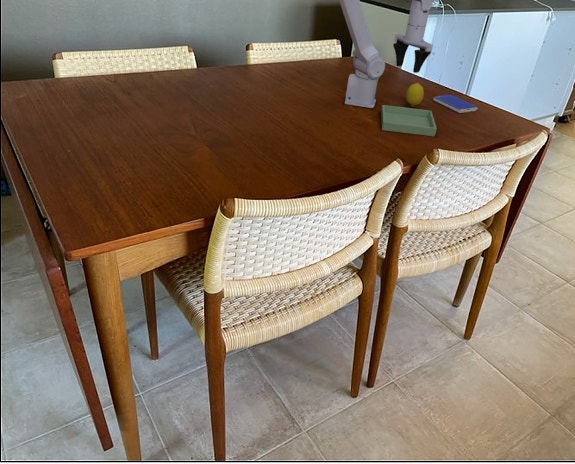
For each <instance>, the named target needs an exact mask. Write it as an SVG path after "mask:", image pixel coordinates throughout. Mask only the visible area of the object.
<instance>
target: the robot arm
mask: <svg viewBox="0 0 575 464" xmlns="http://www.w3.org/2000/svg"><path fill="white" fill-rule="evenodd" d="M338 1H339V4H340V7H341V10H342V14H343V16H344V19H345V22H346V26H347V28H348V31H349V34H350V38H351V41H352V44H353V48H354V50H353V51H352V56H353V63H352V64H353V68H354V69H355V73H350V74H349V76H348V80H347V84H346V91H345V99H344V105H348V106H355V107H356V106H357V107H361V108H366V109H367V108H368V109H374V108H375V106H376V101H377V100H376V93H377V88H378V81H379V79H380V77H381V76H382V75H383V74H384V72H385V69H386V63H385V60H384V59H383V58H382V57H381V56H380V53H379V51H378V50H377V49H376V47H375V46H374V44H373V41H372V38H371V35H370V31H369V28H368V23H367V20H366V18H365V17H366V16H365V14H364V11H363V8H362V3H361V1H360V0H338ZM435 1H436V0H411V3H410V8H409V14H408V18H407V19H408V20H407V24H406V29H405V35H403V34H394V39H393V41H394V43H393V45H392V46H393V50H394V53H395V62H396V64H395V65H396V67H403V64H404V62H405V57H406V54H407V51H408V48H409V47H414V48H416V49H414V51H413V52H414V64H413V69H412V71H413V73H414V74H417V73H420V71H421V69H422V67H423V65H424V63H425V61H426V60H427V59H428V57H429V56H430V55H431V54H432V51H433V47H434V44H432V43H430V42H428V41H426V40H425V38H424V37H425V32H426V28H427V24H428V19H429V14H430V11H431V9H432V6H433V3H434V2H435Z"/></svg>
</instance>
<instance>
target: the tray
mask: <svg viewBox="0 0 575 464" xmlns="http://www.w3.org/2000/svg"><path fill="white" fill-rule="evenodd" d="M380 119H381V120H380V121H381V130H382V131H387V132H394V133H395V132H396V133H403V134H409V135H410V134H411V135H418V136H419V135H420V136H427V137H428V136H429V137H436V133H437V129H438V128H437V124H436V122H435V118H434V115H433V112H432V110H430V109H429V110H428V109H422V108H414V107H405V106H404V107H403V106H395V105H388V104H387V105H386V104H382V105H381V110H380Z"/></svg>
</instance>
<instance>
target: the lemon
mask: <svg viewBox="0 0 575 464" xmlns="http://www.w3.org/2000/svg"><path fill="white" fill-rule="evenodd" d="M424 95H425V90H424V87H423V85H421V84H420V82H415V83H413V84H410V85H409V87H408V88H407V91H406V93H405V100H406V103H407V104H408V105H409V106H410V108H414V107H415V106H418V105H420V103H422V101H423V99H424Z"/></svg>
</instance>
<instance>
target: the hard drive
mask: <svg viewBox="0 0 575 464" xmlns="http://www.w3.org/2000/svg"><path fill="white" fill-rule="evenodd" d="M432 101H433V102H436V103H438V104H440V105H442V106H443V107H446V108H448V109H450V110H452V111H455V112H456V113H458V114H464V113H471V112H476V111H477V110H478V106H477V105H474V104H472V103H470V102H468V101H466V100H463V99H462V98H459V97H458V96H455V95H454V94H443V95H435V96H434V97H433V99H432Z"/></svg>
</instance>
